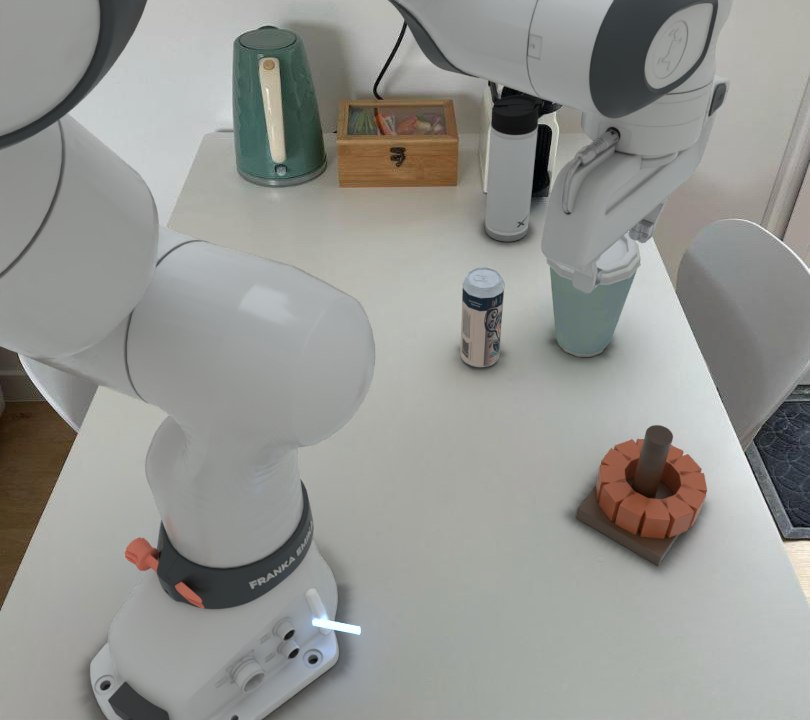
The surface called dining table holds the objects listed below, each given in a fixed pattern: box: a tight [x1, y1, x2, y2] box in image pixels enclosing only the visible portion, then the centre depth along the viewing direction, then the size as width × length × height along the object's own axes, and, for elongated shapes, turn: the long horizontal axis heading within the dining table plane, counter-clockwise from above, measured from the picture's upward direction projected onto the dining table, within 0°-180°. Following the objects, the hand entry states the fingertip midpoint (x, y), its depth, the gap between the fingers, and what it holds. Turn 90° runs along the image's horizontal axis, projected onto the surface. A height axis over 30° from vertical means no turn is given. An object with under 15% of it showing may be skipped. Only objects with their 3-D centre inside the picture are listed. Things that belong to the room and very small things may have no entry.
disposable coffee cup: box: [545, 231, 642, 358], centre depth 96 cm, size 11×11×15 cm
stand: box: [575, 424, 682, 567], centre depth 77 cm, size 9×9×12 cm
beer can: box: [459, 266, 506, 368], centre depth 95 cm, size 5×5×12 cm
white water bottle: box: [484, 94, 544, 243], centre depth 112 cm, size 6×7×20 cm
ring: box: [595, 438, 708, 539], centre depth 80 cm, size 10×10×3 cm
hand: (614, 261), depth 69 cm, fingers open, 8 cm apart
